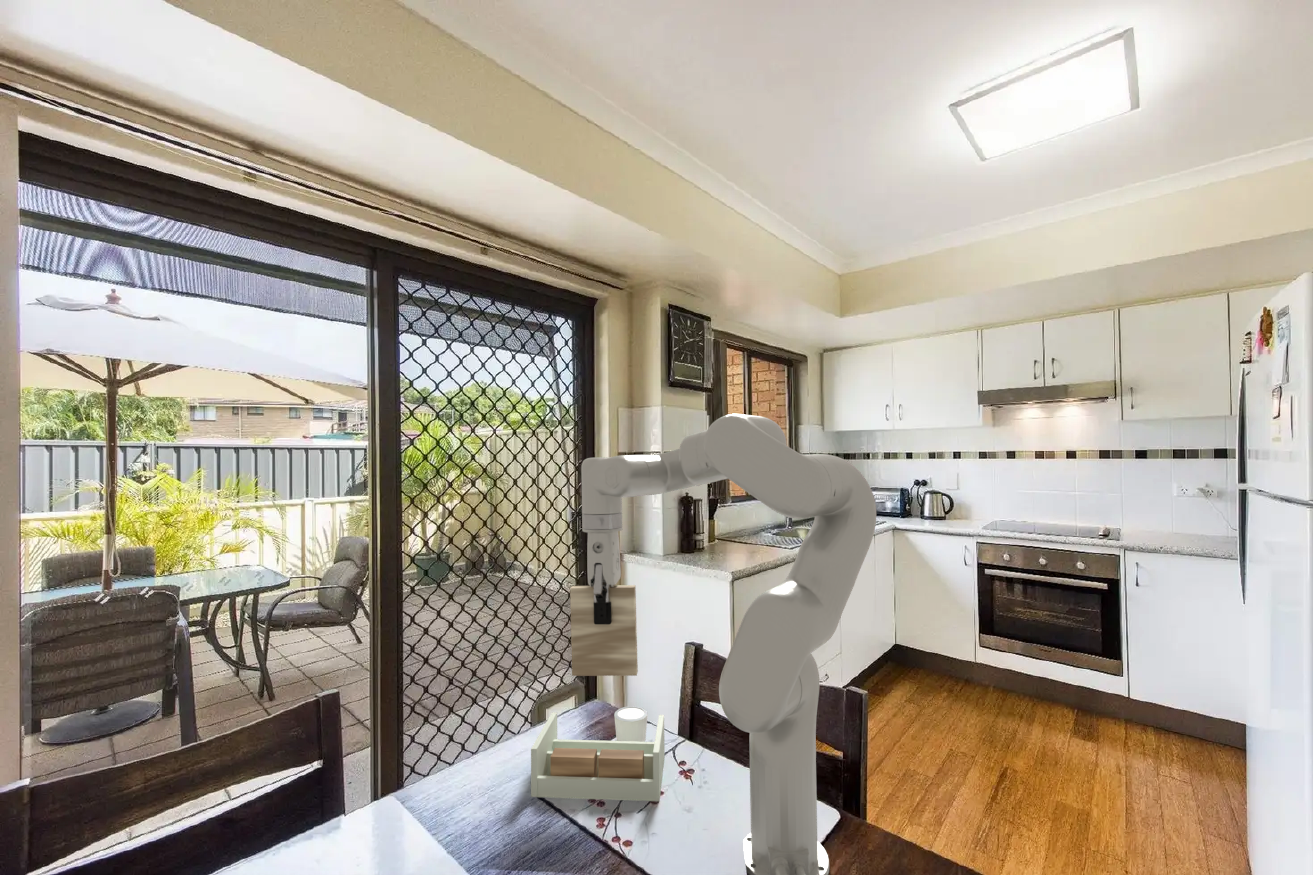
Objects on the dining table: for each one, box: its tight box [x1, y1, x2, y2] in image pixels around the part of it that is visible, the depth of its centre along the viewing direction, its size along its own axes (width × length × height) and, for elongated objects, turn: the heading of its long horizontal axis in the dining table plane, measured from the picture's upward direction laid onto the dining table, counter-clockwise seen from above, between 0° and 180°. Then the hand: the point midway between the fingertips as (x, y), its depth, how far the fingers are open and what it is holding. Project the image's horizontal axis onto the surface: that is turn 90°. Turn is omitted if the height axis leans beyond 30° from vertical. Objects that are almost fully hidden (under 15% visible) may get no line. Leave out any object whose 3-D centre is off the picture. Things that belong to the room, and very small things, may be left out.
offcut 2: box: [598, 749, 644, 779], centre depth 98 cm, size 3×8×6 cm, turn 86°
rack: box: [530, 711, 666, 802], centre depth 103 cm, size 14×22×10 cm, turn 86°
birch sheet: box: [569, 584, 639, 677], centre depth 105 cm, size 2×12×16 cm, turn 86°
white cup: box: [613, 706, 649, 742], centre depth 115 cm, size 7×7×7 cm
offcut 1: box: [551, 748, 597, 777], centre depth 99 cm, size 3×8×6 cm, turn 86°
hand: (604, 621), depth 105 cm, fingers closed on birch sheet, 2 cm apart
